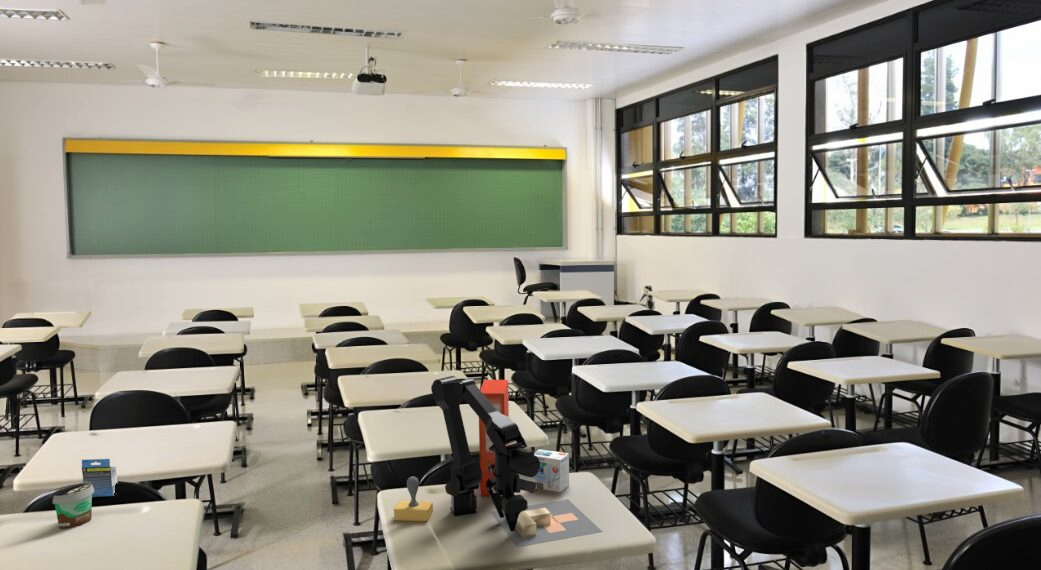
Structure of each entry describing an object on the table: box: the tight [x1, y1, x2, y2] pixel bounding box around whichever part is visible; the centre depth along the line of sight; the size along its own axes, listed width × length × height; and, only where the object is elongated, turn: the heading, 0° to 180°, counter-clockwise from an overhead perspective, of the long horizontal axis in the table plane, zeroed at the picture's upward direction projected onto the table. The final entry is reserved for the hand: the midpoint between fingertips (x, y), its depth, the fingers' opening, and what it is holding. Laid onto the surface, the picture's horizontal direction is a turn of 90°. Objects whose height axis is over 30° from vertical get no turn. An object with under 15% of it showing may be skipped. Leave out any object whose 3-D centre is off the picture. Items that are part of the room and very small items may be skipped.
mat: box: [490, 498, 603, 548], centre depth 209 cm, size 24×24×1 cm
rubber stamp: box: [393, 476, 434, 522], centre depth 215 cm, size 10×6×12 cm, turn 83°
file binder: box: [478, 379, 510, 498], centre depth 236 cm, size 8×17×32 cm, turn 177°
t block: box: [515, 508, 551, 537], centre depth 207 cm, size 10×14×3 cm
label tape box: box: [81, 458, 118, 498], centre depth 237 cm, size 9×4×12 cm, turn 94°
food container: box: [52, 481, 94, 530], centre depth 217 cm, size 12×6×10 cm, turn 168°
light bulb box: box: [533, 448, 570, 493], centre depth 235 cm, size 11×7×11 cm, turn 62°
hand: (507, 524), depth 205 cm, fingers open, 9 cm apart
